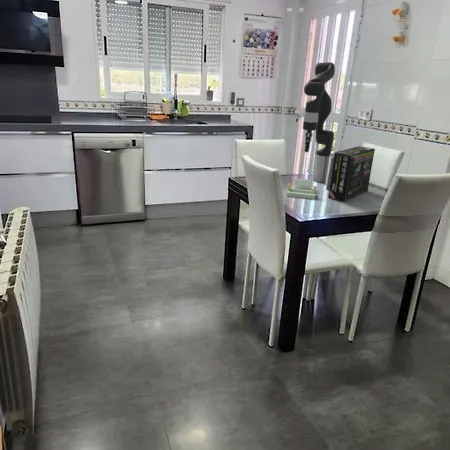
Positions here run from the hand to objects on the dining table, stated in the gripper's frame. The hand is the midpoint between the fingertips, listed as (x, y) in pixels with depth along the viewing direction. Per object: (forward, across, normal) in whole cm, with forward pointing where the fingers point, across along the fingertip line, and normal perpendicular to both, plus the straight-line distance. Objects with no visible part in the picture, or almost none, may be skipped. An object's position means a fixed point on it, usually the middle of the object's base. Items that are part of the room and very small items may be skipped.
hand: (306, 150), depth 222 cm
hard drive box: (+27, -27, +18) cm, 42 cm away
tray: (+26, 0, 0) cm, 26 cm away
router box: (+26, -14, +27) cm, 40 cm away
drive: (+26, -13, 0) cm, 30 cm away
